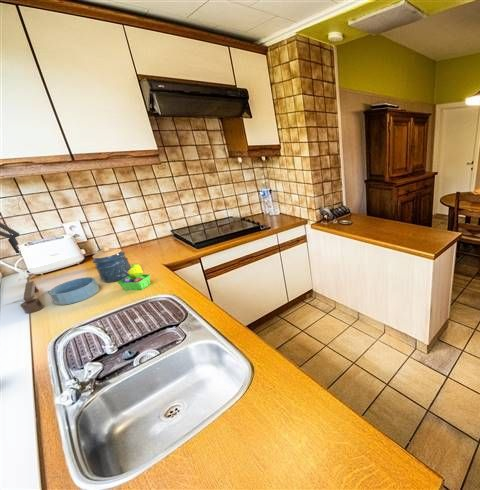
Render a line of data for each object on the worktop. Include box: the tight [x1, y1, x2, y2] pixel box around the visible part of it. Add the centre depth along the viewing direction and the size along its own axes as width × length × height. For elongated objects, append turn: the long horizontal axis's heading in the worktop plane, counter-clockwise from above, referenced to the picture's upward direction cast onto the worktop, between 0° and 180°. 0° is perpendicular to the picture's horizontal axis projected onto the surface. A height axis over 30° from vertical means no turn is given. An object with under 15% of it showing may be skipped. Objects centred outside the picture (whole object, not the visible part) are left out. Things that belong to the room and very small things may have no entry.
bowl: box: [48, 276, 100, 306], centre depth 126 cm, size 15×15×6 cm
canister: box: [91, 246, 132, 283], centre depth 140 cm, size 13×13×18 cm
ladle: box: [19, 280, 45, 315], centre depth 123 cm, size 24×6×6 cm, turn 48°
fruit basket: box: [116, 263, 151, 291], centre depth 130 cm, size 11×9×11 cm
